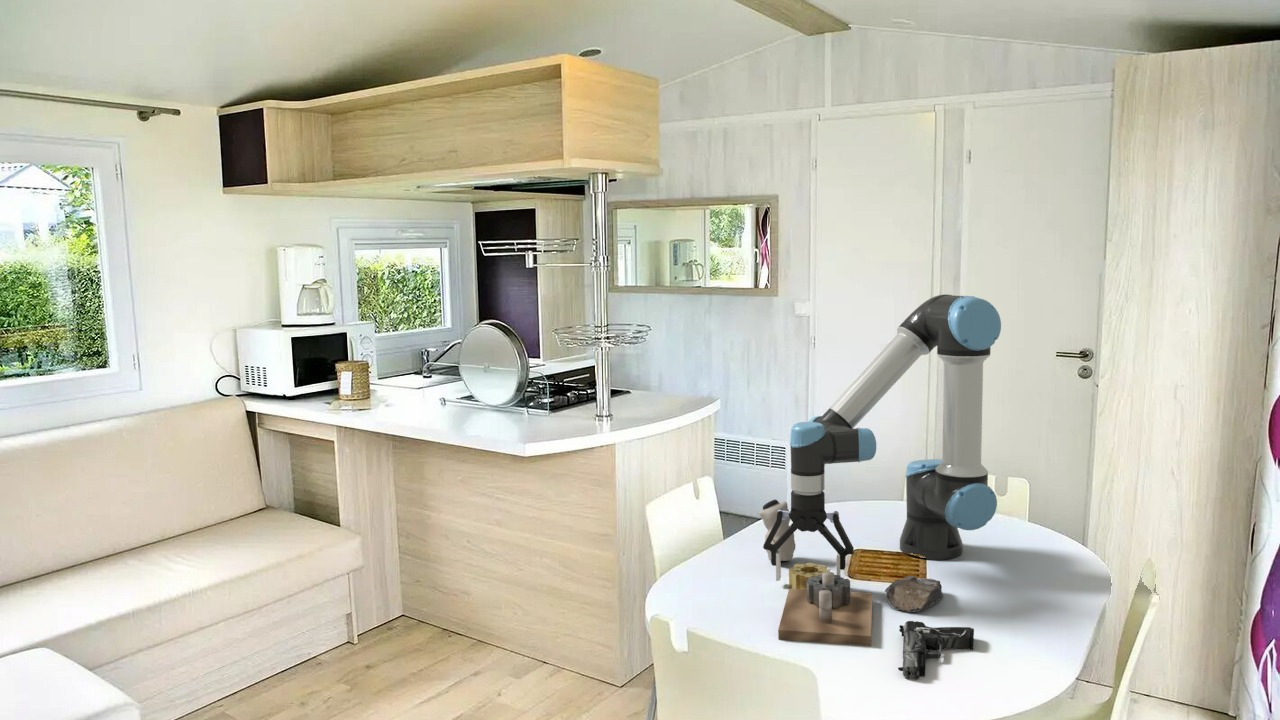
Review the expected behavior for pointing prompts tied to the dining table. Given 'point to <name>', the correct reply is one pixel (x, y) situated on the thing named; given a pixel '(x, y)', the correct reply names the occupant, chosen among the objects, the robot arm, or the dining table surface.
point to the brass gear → (804, 574)
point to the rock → (914, 593)
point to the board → (827, 632)
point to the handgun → (930, 644)
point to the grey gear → (838, 590)
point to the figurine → (769, 520)
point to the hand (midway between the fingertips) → (808, 580)
